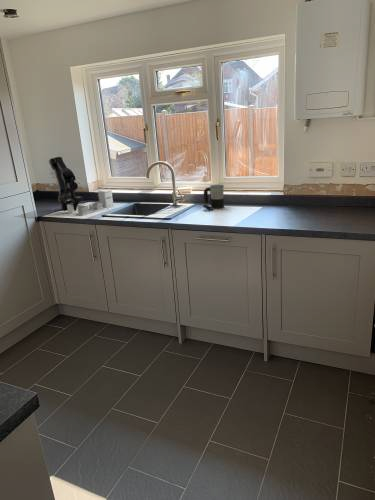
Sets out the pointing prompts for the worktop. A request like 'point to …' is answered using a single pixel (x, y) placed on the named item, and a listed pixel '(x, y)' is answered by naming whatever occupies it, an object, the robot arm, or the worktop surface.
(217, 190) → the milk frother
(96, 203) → the rail
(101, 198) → the supplement box
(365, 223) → the worktop surface
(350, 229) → the worktop surface
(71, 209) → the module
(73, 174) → the robot arm
